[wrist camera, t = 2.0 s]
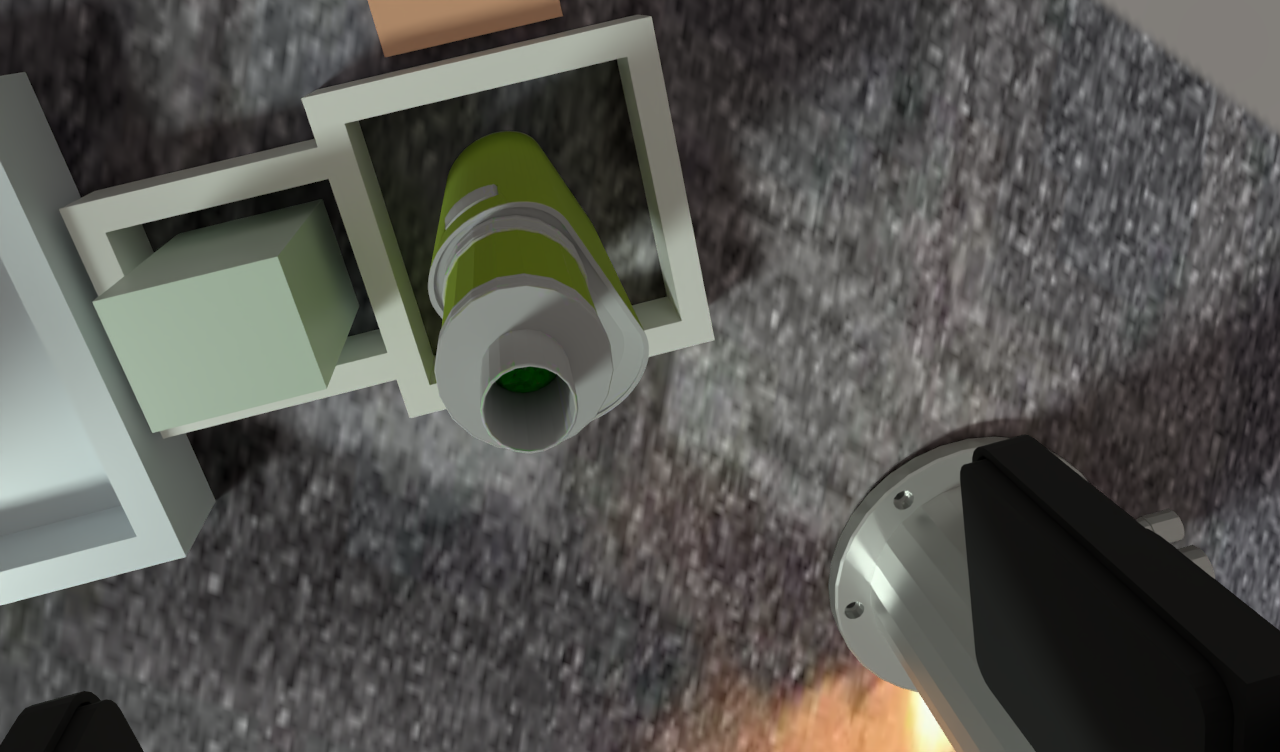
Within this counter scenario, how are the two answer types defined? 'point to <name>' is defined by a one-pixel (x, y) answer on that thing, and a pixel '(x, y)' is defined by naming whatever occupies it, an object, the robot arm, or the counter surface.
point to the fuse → (232, 316)
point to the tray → (71, 397)
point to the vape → (526, 302)
